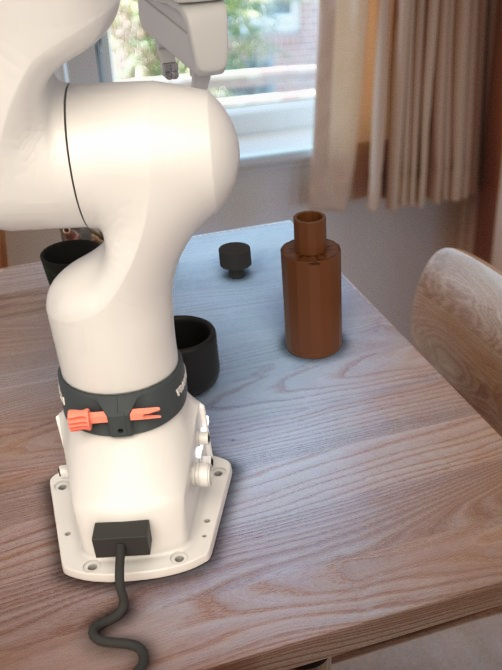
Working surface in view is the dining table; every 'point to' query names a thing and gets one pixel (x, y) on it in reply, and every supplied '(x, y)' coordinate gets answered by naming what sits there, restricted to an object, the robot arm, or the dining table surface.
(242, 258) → the cylinder
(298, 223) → the bottle
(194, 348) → the mug
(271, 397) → the dining table surface
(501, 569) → the dining table surface
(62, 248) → the cup
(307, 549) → the dining table surface
